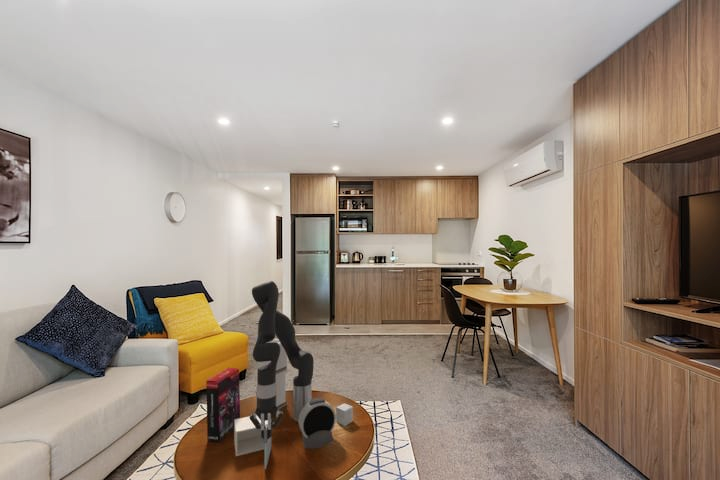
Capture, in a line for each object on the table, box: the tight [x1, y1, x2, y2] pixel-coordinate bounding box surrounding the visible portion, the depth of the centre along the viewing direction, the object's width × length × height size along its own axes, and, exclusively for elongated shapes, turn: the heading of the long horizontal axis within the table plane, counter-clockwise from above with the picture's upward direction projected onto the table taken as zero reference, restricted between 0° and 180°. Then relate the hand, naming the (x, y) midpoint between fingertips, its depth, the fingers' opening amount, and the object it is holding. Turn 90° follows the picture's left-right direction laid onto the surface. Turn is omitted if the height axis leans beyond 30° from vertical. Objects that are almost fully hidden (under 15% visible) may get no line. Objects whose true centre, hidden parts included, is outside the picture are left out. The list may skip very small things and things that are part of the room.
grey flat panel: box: [263, 424, 272, 470], centre depth 135 cm, size 14×1×15 cm, turn 7°
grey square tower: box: [256, 338, 288, 411], centre depth 180 cm, size 11×11×35 cm
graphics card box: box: [205, 367, 241, 443], centre depth 155 cm, size 17×7×27 cm, turn 168°
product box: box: [335, 403, 354, 427], centre depth 163 cm, size 6×6×7 cm
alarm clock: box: [297, 397, 337, 450], centre depth 147 cm, size 16×10×18 cm, turn 115°
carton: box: [233, 415, 268, 457], centre depth 144 cm, size 14×11×10 cm
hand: (266, 438), depth 130 cm, fingers closed
